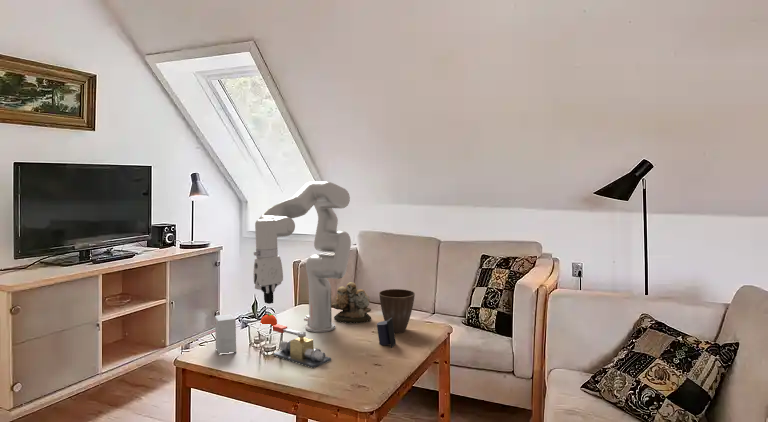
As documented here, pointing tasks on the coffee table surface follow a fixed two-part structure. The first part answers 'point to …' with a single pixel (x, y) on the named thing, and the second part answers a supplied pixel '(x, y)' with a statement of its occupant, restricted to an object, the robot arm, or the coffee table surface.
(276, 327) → the valve lever
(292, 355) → the valve body
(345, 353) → the coffee table surface
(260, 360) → the coffee table surface
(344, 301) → the owl figurine
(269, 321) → the clementine
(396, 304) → the plant pot
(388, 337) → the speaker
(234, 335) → the small box
